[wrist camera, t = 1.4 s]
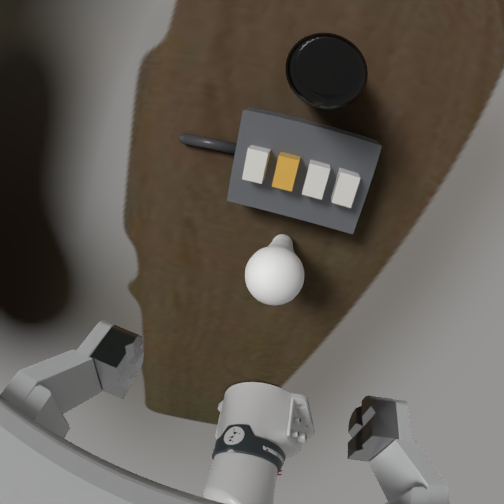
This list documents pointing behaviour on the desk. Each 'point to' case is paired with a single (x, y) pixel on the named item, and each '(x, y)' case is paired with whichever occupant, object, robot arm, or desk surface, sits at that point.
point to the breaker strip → (298, 168)
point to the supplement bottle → (326, 71)
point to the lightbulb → (275, 272)
